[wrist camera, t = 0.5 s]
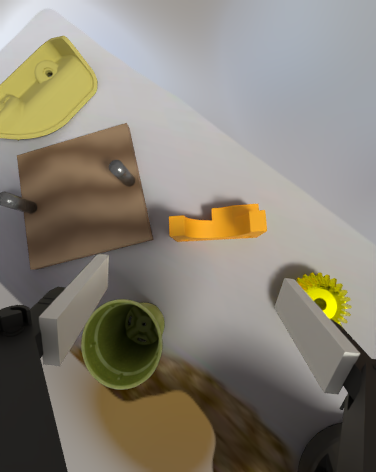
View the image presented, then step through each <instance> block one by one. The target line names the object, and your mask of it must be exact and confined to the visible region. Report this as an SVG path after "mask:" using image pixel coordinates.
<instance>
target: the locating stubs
mask: <svg viewBox="0 0 376 472" xmlns="http://www.w3.org/2000/svg"><path fill="white" fill-rule="evenodd" d="M109 170H110V172H111V173H112V174H113V175H115V176H116V177H117V178H118V179H119V180H120V181H121V182H122V183H123V184H124V185H125V186H127V187H131V186H133V185H134V183H135V177H134V176H133V175H132V174H131V173H130V171H129V170H128V169H127V168H126V167H125V166H124V164H123V163H122V162H121V161H120V160H113V161H112V162H111V163H110V164H109ZM0 205H2V206H5V207H9V208H12V209H16V210H19V211H23V212H26V213H29V214H33V213H35V212H36V210H37V204H36V203H35V202H32V201H29V200H27V199H24V198H21V197H18V196H15V195H13V194H10V193H7V192H1V193H0Z"/></svg>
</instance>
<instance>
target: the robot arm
mask: <svg viewBox="0 0 376 472" xmlns="http://www.w3.org/2000/svg"><path fill="white" fill-rule="evenodd" d="M108 266H109V255H104V254H97V255H96V256H95V258H94V259H93V260H92V261H91V262H90V263H89V264H88V265H87V266H86V267H85V268H84V269H83V270H82V271H81V272H80V274H79V275H78V276H77V277H76V278H75V279H74V280H73V281H72V282H71V283H70V284H69V285H68V286H67V287H66V288H64V287H57V288H55V289H53V290H51V291H49V292H48V293H47V294H46V295H45V296H44V297H43V298H42V299H41V300H40V301H39V302H38V303H36V304H35V305H34V306H33V307H32V308H31V309H29V308H28V307H27V306H24V305H15V306H9V307H6V308H3V309H1V310H0V472H67V467H66V463H65V459H64V455H63V451H62V447H61V443H60V439H59V434H58V430H57V426H56V422H55V418H54V414H53V410H52V405H51V401H50V397H49V393H48V389H47V385H46V381H45V376H44V372H43V368H42V364H41V360H40V358H41V357H42V355H43V364H45V365H55V366H60V365H61V363H62V362H63V360H64V358H65V357H66V355H67V354H68V352H69V350H70V349H71V347H72V346H73V344H74V342H75V341H76V339H77V337H78V336H79V334H80V332H81V331H82V329H83V328H84V326H85V324H86V323H87V321H88V319H89V318H90V316H91V314H92V313H93V311H94V310H95V308H96V306H97V305H98V303H99V301H100V300H101V298H102V297H103V295H104V293H105V292H106V290H107V288H108ZM274 308H275V310H276V312H277V313H278V315H279V317H280V319H281V320H282V322H283V324H284V325H285V327H286V329H287V331H288V332H289V334H290V336H291V337H292V339H293V341H294V343H295V344H296V346H297V348H298V349H299V351H300V353H301V354H302V356H303V358H304V360H305V361H306V363H307V365H308V366H309V368H310V370H311V372H312V373H313V375H314V377H315V378H316V380H317V382H318V383H319V385H320V387H321V389H322V390H323V392H324V393H331V394H339V392H340V390H341V388H342V387H343V386H344V387H345V389H346V390H347V392H348V394H347V396H346V398H345V400H344V402H343V403H342V405H341V407H340V409H341V410H343V408H344V414H343V422H342V423H340V424H336V425H333V426H330V427H328V428H326V429H324V430H323V431H321V432H320V433H318V434H317V435H316V436H315V437H314V438H313V439H312V440H311V441H310V442H309V444H308V445H307V447H306V448H305V450H304V452H303V455H302V457H301V460H300V464H299V469H298V472H376V359H371V358H370V357H369V356H368V355H367V353H366V352H365V351H364V350H363V349H362V348H361V347H360V346H359V345H358V344H357V343H356V342H355V340H353V339H352V337H351V336H350V335H349V334H347V332H346V331H345V330H344V329H343V327H342V326H341V325H339V324H338V323H337V322H335V321H334V320H332V319H329V318H328V317H327V315H326V314H325V313H324V312H323V311H322V310H321V309H320V308H319V306H318V305H317V304H316V303H315V302H314V301H313V300H312V299H311V297H310V296H309V295H308V294H307V293H306V292H305V291H304V290H303V288H302V287H301V286H300V285H299V284H298V283H297V282H296V281H295V280H294V279H289V278H284V281H283V284H282V287H281V290H280V293H279V296H278V298H277V301H276V304H275V307H274Z"/></svg>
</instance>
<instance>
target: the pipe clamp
mask: <svg viewBox="0 0 376 472" xmlns="http://www.w3.org/2000/svg"><path fill="white" fill-rule="evenodd" d="M266 231H267V225H266V214H265V210H260V211H259V206H258V204H247V205H233V206H228V207H222V208H212V220H194V219H190V218H187V217H185V216H184V215H183V216H169V234H170V237H171V238H173V239H174V240H176V241H177V242H182V241H201V240H220V239H239V238H257V237H258V236H260V235H261V234H263V233H265V232H266Z"/></svg>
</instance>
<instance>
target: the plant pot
mask: <svg viewBox="0 0 376 472" xmlns="http://www.w3.org/2000/svg"><path fill="white" fill-rule="evenodd" d="M130 316H132V318H131V322H130V323H131V324H130V326H129V325H128V320H129V317H130ZM142 323H146V325H145V326H143V325H142ZM163 331H164V317H163V315H162V313H161V312H160V310H159V309H158V308H157V307H156V306H155V305H153V304H151V303H138V302H135V301H132V300H126V299H119V300H113V301H110V302H107V303H105V304H103V305H102V306H100V307H99V308H97V309H96V310H95V311H94V312H93V313H92V314H91V316H90V318H89V319H88V321H87V323H86V325H85V327H84V330H83V334H82V341H81V348H82V355H83V359H84V362H85V364H86V367H87V369H88V371H89V372H90V373H91V375H92V376H93V377H94V378H95V379H96V380H97V381H98V382H100V383H101V384H103V385H104V386H106V387H109V388H113V389H118V390H123V389H130V388H133V387H136V386H138V385H140V384H142V383H143V382H144V381H146V380H147V379H148V378H149V377H150V376H151V375H152V374H153V372H154V371H155V369H156V367H157V365H158V363H159V361H160V358H161V354H162V334H163ZM138 338H140V339H144V340H146V342H142V341H139V340H138Z"/></svg>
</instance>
